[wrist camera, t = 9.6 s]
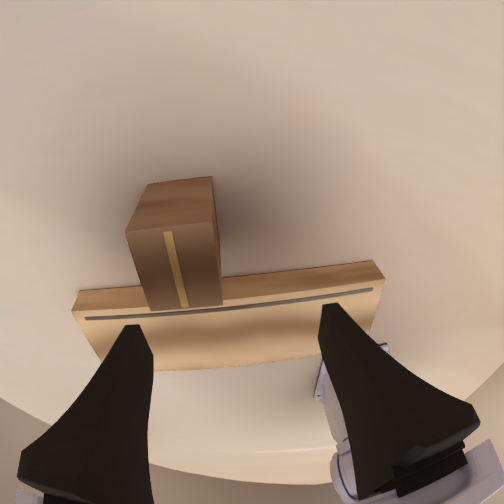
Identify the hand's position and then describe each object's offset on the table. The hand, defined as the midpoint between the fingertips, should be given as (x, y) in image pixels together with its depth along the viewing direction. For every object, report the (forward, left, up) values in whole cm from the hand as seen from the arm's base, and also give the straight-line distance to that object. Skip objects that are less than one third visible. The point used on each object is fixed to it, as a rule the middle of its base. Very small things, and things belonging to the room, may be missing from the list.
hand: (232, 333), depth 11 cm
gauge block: (0, +2, -10) cm, 10 cm away
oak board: (-9, 0, -10) cm, 13 cm away
